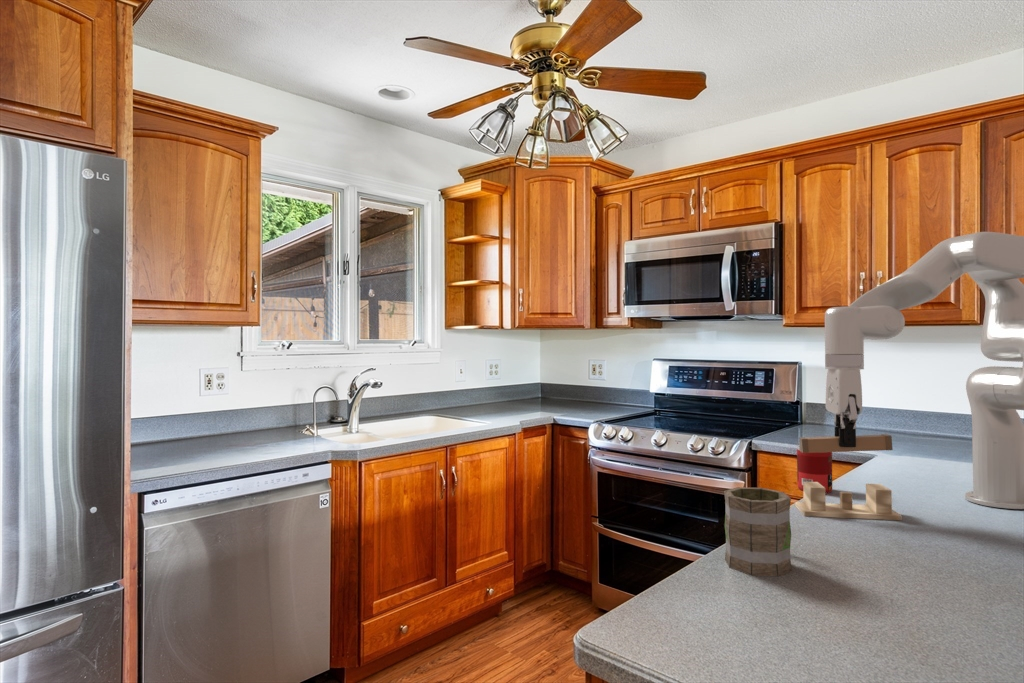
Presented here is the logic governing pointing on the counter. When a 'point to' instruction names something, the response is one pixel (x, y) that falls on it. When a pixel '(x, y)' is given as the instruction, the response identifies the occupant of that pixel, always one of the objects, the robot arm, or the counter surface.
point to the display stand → (848, 503)
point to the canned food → (814, 469)
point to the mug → (758, 531)
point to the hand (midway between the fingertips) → (845, 445)
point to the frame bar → (833, 446)
